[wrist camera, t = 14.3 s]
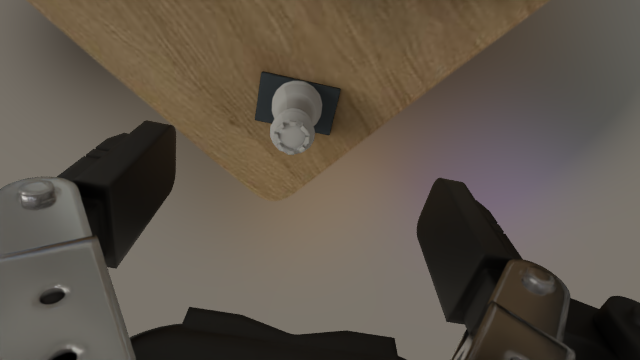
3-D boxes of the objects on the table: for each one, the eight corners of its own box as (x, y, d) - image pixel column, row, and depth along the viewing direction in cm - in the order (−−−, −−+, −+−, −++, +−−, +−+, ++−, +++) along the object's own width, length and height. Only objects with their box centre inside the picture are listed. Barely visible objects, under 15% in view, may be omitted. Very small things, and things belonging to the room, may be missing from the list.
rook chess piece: (262, 93, 32) (247, 125, 25) (307, 69, 31) (304, 96, 24) (288, 135, 34) (280, 176, 27) (330, 114, 33) (334, 151, 26)
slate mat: (340, 88, 32) (340, 89, 32) (329, 133, 34) (329, 135, 34) (262, 71, 32) (261, 72, 31) (255, 118, 34) (254, 120, 33)
